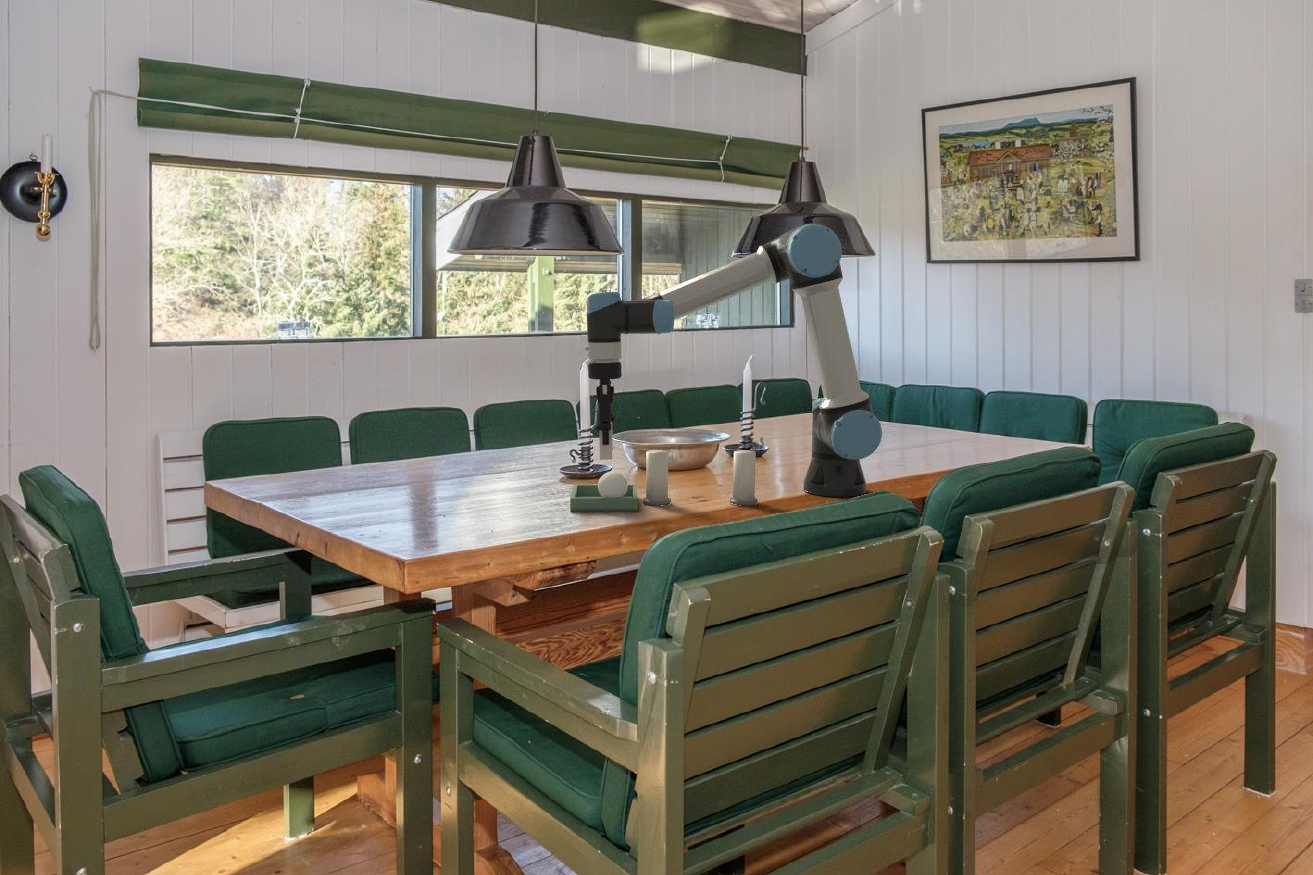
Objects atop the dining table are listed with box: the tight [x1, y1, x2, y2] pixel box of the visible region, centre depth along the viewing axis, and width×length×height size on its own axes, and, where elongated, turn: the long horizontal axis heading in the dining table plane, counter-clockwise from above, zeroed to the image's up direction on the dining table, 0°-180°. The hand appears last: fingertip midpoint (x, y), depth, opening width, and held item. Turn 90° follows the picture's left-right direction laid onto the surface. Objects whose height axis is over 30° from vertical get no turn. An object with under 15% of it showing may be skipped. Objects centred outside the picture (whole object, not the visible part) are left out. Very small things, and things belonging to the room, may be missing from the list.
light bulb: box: [597, 470, 629, 498], centre depth 243 cm, size 7×7×11 cm
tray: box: [569, 484, 639, 513], centre depth 246 cm, size 15×17×3 cm
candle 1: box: [642, 449, 672, 507], centre depth 247 cm, size 6×6×12 cm
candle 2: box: [729, 449, 759, 507], centre depth 248 cm, size 6×6×12 cm
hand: (606, 454), depth 245 cm, fingers open, 13 cm apart
